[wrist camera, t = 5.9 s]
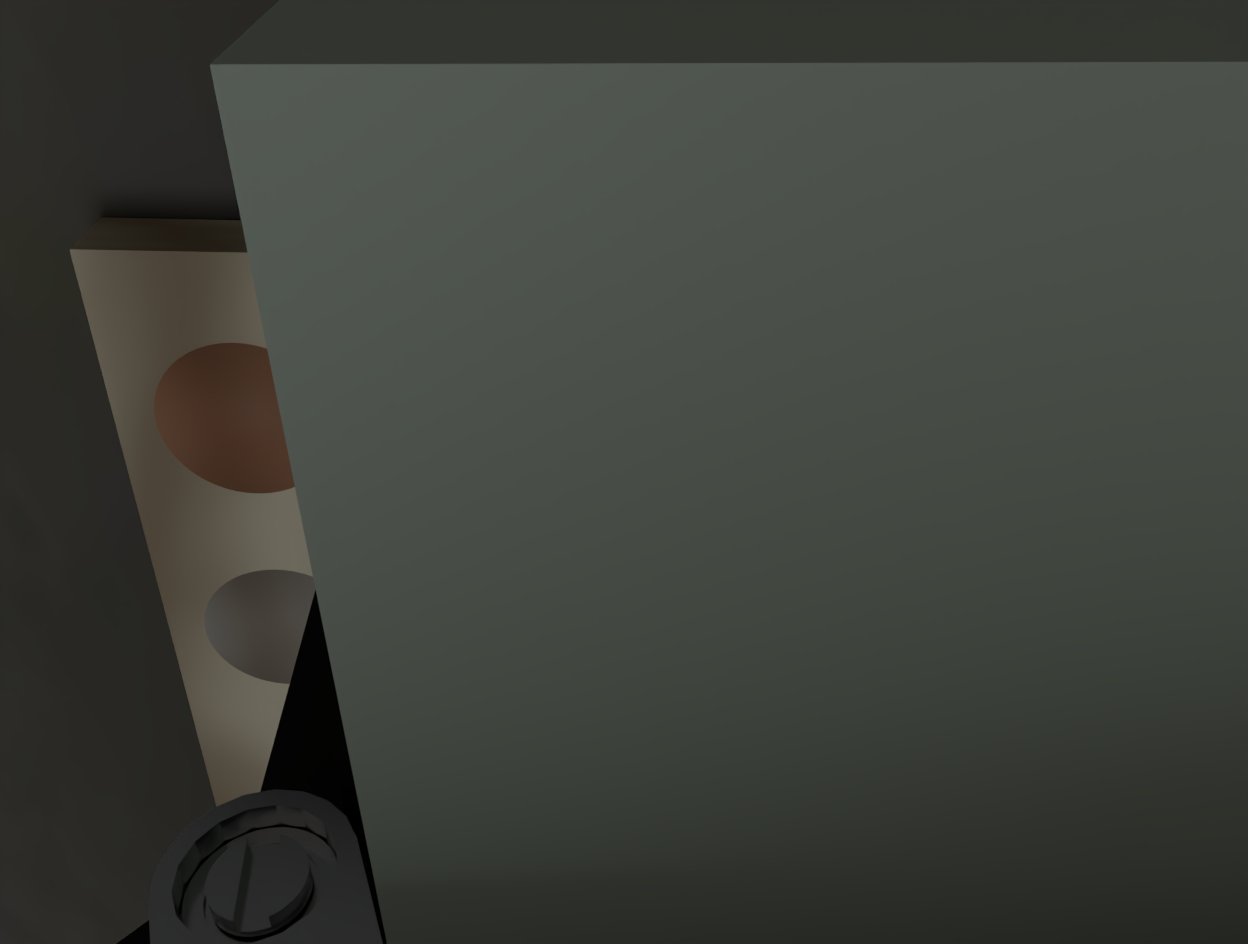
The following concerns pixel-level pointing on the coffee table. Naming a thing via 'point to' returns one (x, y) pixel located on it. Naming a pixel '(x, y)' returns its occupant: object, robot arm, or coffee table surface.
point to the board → (205, 470)
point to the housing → (769, 457)
